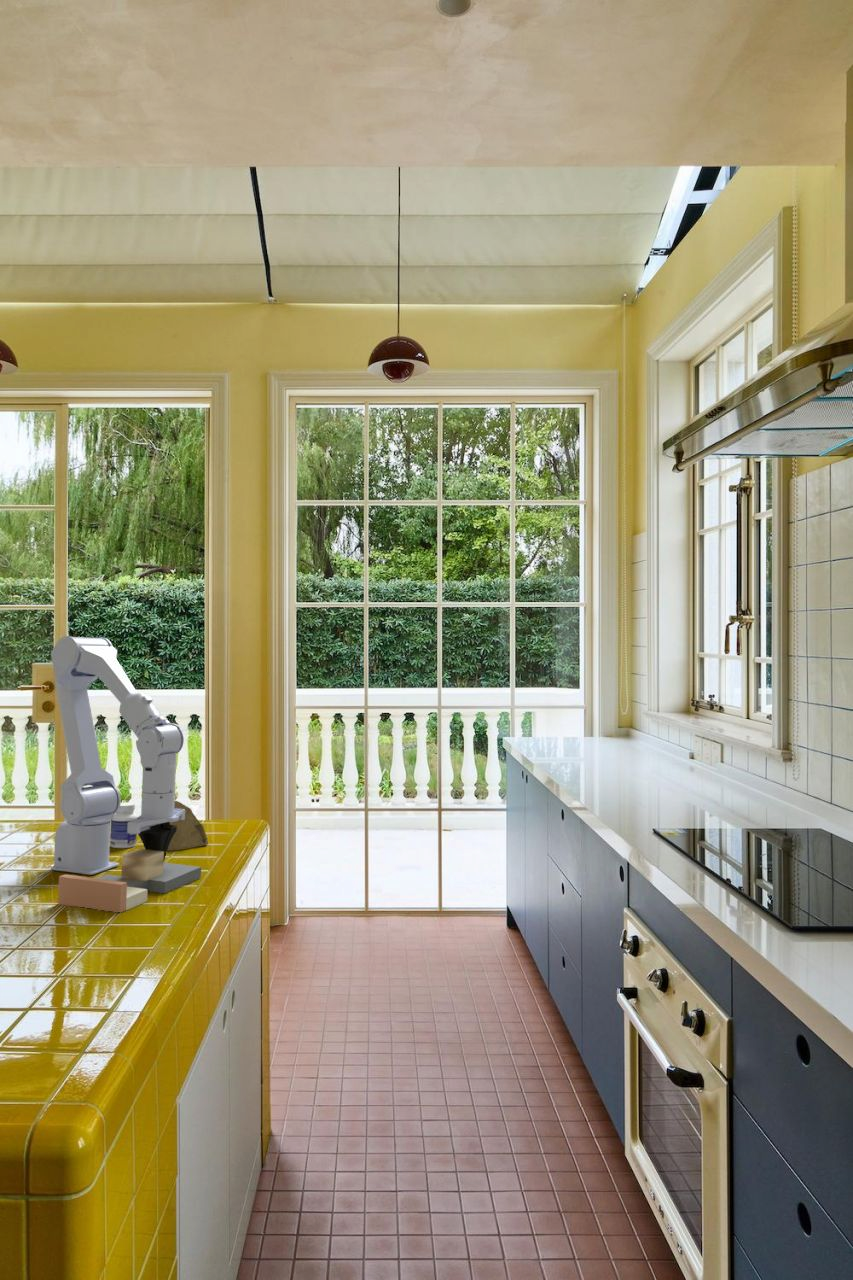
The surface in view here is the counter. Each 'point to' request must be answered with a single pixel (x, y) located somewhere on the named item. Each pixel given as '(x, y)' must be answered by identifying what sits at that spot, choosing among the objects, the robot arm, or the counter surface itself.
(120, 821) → the pill bottle
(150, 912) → the counter surface
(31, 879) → the counter surface
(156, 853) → the maple block
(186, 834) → the rock
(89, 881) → the plate
